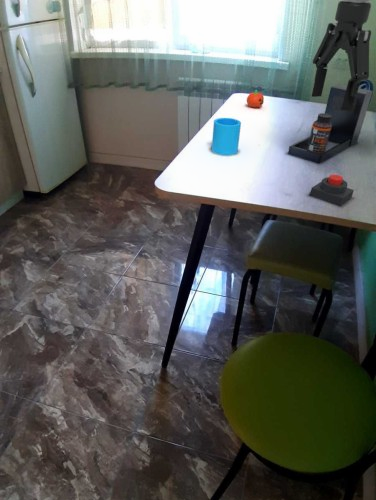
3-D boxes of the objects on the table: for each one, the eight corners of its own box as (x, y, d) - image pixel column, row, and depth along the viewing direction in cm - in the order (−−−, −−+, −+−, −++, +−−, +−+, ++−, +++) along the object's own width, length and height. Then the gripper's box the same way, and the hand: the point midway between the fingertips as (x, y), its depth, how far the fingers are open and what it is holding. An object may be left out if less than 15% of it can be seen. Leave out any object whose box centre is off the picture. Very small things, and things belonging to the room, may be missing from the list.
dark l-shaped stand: (357, 142, 145) (372, 91, 134) (320, 163, 128) (334, 107, 117) (326, 134, 150) (338, 84, 139) (286, 153, 134) (297, 98, 123)
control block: (351, 197, 111) (356, 183, 108) (340, 206, 107) (345, 191, 104) (321, 187, 115) (325, 173, 112) (309, 195, 111) (313, 180, 108)
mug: (235, 156, 130) (238, 127, 124) (209, 153, 131) (211, 124, 125) (241, 143, 139) (244, 116, 133) (216, 140, 140) (218, 113, 134)
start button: (343, 183, 109) (345, 177, 108) (337, 187, 107) (339, 181, 106) (331, 179, 111) (332, 173, 109) (325, 183, 109) (326, 177, 107)
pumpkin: (262, 104, 175) (265, 87, 171) (262, 110, 169) (265, 92, 165) (246, 103, 176) (248, 86, 171) (245, 108, 170) (247, 91, 166)
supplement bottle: (310, 155, 133) (319, 117, 125) (303, 149, 137) (311, 112, 130) (327, 155, 134) (337, 117, 126) (319, 148, 138) (329, 111, 131)
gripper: (312, -5, 103) (294, 91, 117) (378, 6, 86) (347, 117, 100) (336, -4, 105) (316, 90, 119) (406, 6, 88) (372, 115, 102)
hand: (330, 102), depth 110 cm, fingers open, 13 cm apart
